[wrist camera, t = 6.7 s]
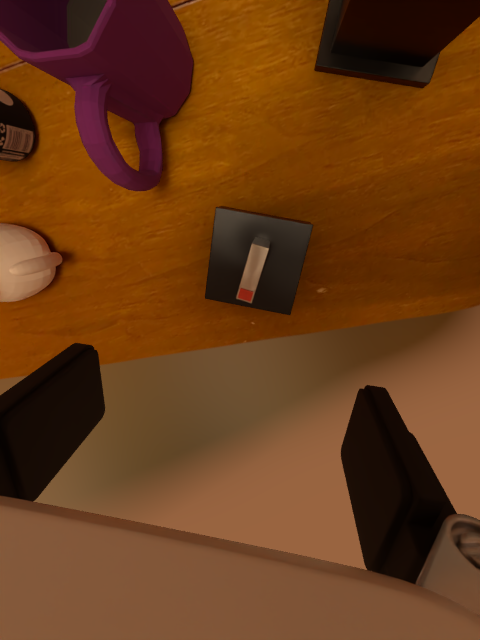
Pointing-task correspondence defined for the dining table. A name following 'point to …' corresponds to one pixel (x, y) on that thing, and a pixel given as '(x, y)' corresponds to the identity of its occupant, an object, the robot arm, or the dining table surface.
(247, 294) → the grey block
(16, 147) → the beverage can
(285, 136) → the dining table surface
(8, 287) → the cat figurine
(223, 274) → the rotary switch block
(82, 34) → the mug
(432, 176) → the dining table surface
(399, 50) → the stop pillar
